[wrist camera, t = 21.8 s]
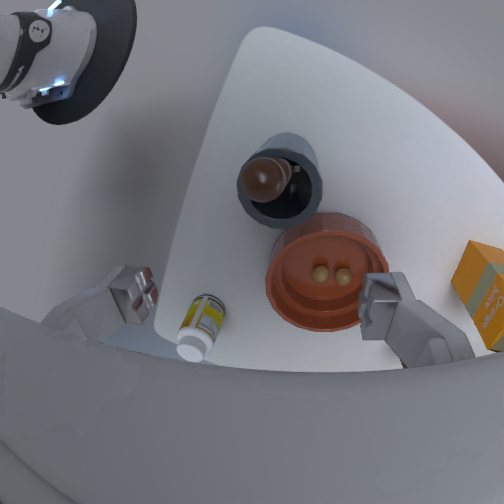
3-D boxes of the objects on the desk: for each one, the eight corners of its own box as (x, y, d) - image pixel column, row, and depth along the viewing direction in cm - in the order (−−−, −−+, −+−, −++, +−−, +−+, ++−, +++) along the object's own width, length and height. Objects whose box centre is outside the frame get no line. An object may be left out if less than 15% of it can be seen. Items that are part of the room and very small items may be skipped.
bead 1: (316, 285, 34) (318, 287, 36) (332, 276, 33) (334, 278, 35) (307, 269, 35) (310, 272, 37) (323, 260, 34) (325, 263, 36)
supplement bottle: (195, 315, 46) (173, 360, 37) (192, 290, 43) (168, 336, 34) (226, 321, 45) (209, 369, 36) (226, 296, 42) (207, 346, 33)
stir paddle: (275, 174, 30) (222, 205, 10) (275, 158, 30) (221, 157, 9) (300, 174, 30) (297, 207, 10) (300, 159, 29) (298, 157, 9)
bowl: (272, 304, 41) (268, 329, 37) (268, 210, 34) (262, 229, 29) (370, 306, 38) (375, 331, 34) (387, 213, 31) (400, 232, 26)
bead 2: (329, 280, 36) (333, 273, 33) (339, 268, 36) (344, 261, 34) (343, 291, 35) (347, 285, 33) (353, 279, 35) (358, 272, 33)
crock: (261, 185, 32) (241, 228, 22) (258, 133, 29) (233, 149, 19) (315, 185, 31) (321, 229, 21) (314, 132, 28) (322, 147, 18)
